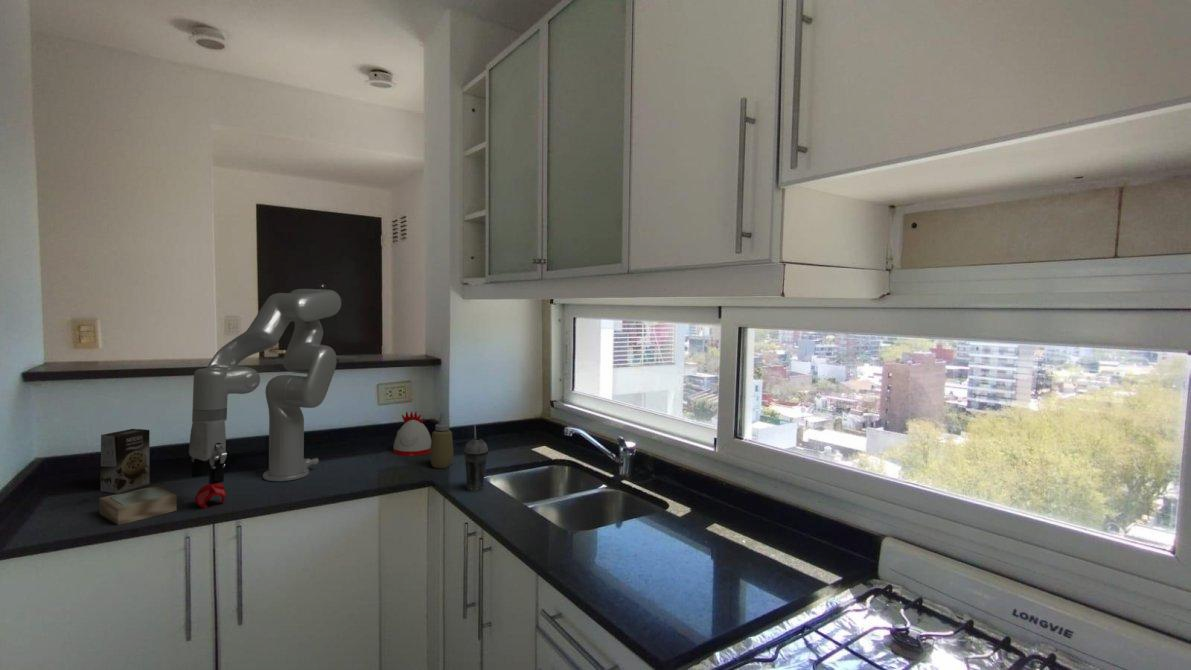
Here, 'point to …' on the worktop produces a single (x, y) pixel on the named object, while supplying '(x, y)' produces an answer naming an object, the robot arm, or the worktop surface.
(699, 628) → the worktop surface
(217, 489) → the red bell pepper
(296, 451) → the robot arm
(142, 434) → the coffee box
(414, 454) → the kitchen timer
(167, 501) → the pedestal
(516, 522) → the worktop surface
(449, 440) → the squeeze bottle
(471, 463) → the beverage cup
